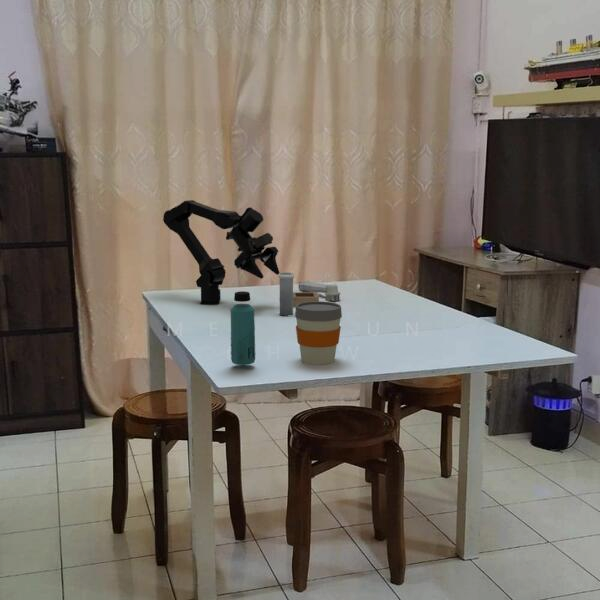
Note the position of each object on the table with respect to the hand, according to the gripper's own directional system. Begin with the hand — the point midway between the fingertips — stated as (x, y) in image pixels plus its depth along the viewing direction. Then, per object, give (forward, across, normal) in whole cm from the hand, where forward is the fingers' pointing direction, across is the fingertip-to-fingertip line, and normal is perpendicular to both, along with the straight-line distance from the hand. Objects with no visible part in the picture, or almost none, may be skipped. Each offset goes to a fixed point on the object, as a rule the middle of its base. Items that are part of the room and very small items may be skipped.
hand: (270, 275), depth 271 cm
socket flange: (+11, +17, +7) cm, 21 cm away
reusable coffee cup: (+41, -41, -23) cm, 62 cm away
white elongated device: (+8, +34, +11) cm, 36 cm away
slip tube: (+14, 0, +4) cm, 14 cm away
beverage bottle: (+32, -58, -14) cm, 68 cm away
